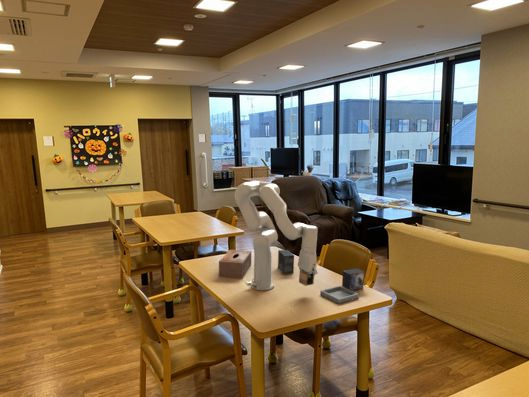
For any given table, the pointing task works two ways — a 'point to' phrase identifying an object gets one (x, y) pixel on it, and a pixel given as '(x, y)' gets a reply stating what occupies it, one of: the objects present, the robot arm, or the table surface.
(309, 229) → the robot arm
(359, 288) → the small box
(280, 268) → the small box
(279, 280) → the table surface
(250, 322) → the table surface
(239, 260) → the tissue box cover
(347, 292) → the tray
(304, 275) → the block
